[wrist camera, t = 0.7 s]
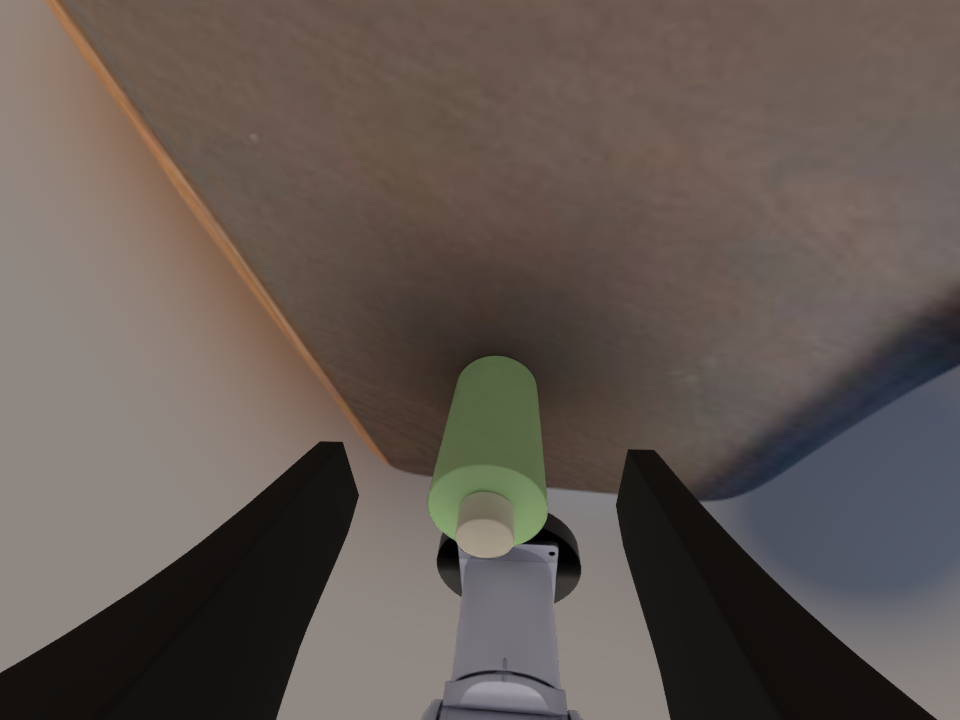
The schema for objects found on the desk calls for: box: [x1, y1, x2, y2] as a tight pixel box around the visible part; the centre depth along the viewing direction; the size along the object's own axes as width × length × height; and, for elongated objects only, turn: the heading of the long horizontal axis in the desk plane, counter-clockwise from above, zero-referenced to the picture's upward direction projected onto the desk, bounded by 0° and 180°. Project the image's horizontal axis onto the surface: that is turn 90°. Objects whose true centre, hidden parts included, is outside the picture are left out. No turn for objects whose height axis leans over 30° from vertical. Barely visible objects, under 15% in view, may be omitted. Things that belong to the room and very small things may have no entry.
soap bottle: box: [427, 356, 548, 558], centre depth 17 cm, size 4×4×9 cm
